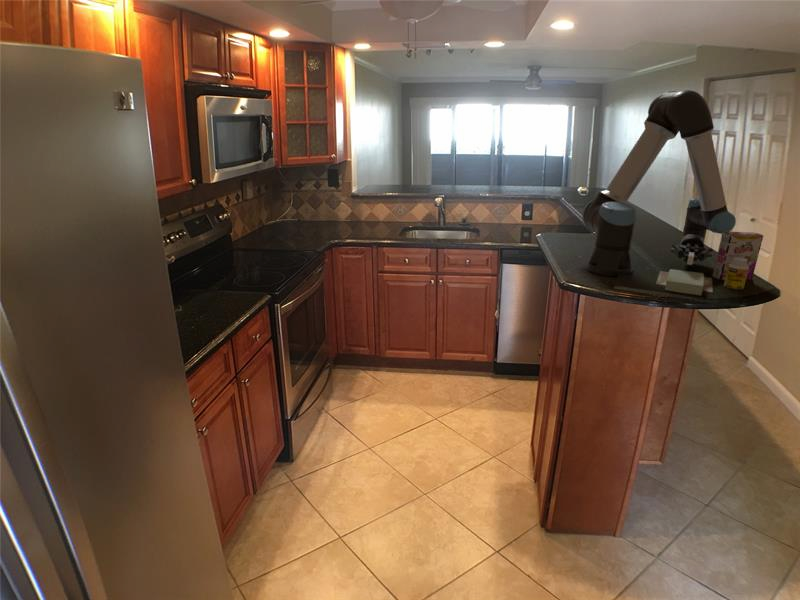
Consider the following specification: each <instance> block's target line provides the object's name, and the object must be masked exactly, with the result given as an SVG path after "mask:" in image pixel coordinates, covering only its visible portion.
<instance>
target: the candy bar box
mask: <svg viewBox="0 0 800 600" xmlns="http://www.w3.org/2000/svg"><path fill="white" fill-rule="evenodd" d="M763 240H764V235H763V234H762V233H758V232H754V231H753V232H752V231H751V232H750V231H730V232H726V231H724V232H723V233H722V234H721V238H720V243H719V246H718V250H717V255H716V259H715V264H714V268H713V271H712V277H713V278H715V279H718V280H723V281H725V278H726V274H727V269H728V265H729V264H730V263H732V260H733V258H744V259H747V260H748V261H747V266H748V267H749V269H748V273H747V278H746V281H753V277H754V273H755V269H756V266H757V262H758V257H759V254H760V250H761V247H762V243H763Z"/></svg>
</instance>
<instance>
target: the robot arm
mask: <svg viewBox="0 0 800 600" xmlns="http://www.w3.org/2000/svg"><path fill="white" fill-rule="evenodd" d="M648 107H649V108H648V110H647V114H648V116H647V117H646V119H645V120H644V122H643V124H644V130H643V132H642V133H641V135H640V136H639V138H638V140H637V141H636V142H635V144H634V145H633V147H632V148H631V150H630V152H629V153H628V155H627V157H626V158H625V159H624V161H623V162H622V164H621V166H620V168H619V169H618V170H617V172H616V173H615V174H614V177H613V178H612V180H611V181H610V183H609V184H608V186H607V188H606V189H604V190H600V191H599V192H598V193H597V195H596V197H595V198H594V199H592V200H591V201H589V202H587V204H585V206H584V208H583V210H582V215H581V218H582V222H583V224H584V225H585V227H586V228H587V230H589V231H590V232H592V233H594V234H596V235H595V241H594V242H595V243H594V247H593V248H594V249H593V250H592V253H591V255H590V257H589V258H588V260H587V262H586V263H587V264H586V270H587V271H588V272H590V273H593V274H595V275H596V274H597V275H599V276H600V275H601V276H607V277H618V276H619V275H627V274H628V275H629V274H631V273H632V272H633V271H634V267H633V262H632V261H633V260H632V256H631V247H632V241H633V235H634V230H635V224H636V223H635V222H636V221H637V220H636V219H637V216H636V215H637V211H636V210H637V209H636V208H635V207H634V206H633V205H631V204H629V203H628V201H629V199H630V198H631V196H632V195H633V193H634V192H635V190H636V189H637V187H638V185H640V182H641V181H642V180H643V178H644V176H645V175H646V174H647V172H648V170H649V169H650V168H651V166H652V165H653V163H654V162H655V160H656V158H657V157H658V156H659V154H660V153H661V151H662V150H663V148H664V147H665V145H666V144H667V142H668V141H670V140H673V139H676V137H677V135H678V134H679V135H680V139H682V140H684V141H685V144H686V149H687V154H688V157H689V158H688V159H689V162H690V166H691V167H690V168H691V170H692V175H693V179H694V184H695V187H696V192H697V196H698V197H695V198H690V199H689V201H688V205H687V208H686V215H685V221H684V225H683V230H682V235H681V239H680V243H679V245H677V244H675V243H674V244H672V245H671V248H670V252H671V253H674V255H675V256H676V257H677V258H678V259H682V258H683V262H687V265H690V266H692V265H693V263H694V262H697V261H700V262H702V261H704V260H706V259H707V258H711V257H712V255H713V250H714V249H712V248H706V247H705V239H706V235H707V231H710V232H712V233H715V234H721V235H722V233H723V232H724V231H726V232H732V230H734V228H735V226H736V223H737V220H736V217H735V215H734V214H733V213H731V212H730V211H729V209H728V206H727V202H726V196H725V192H724V187H723V182H722V178H721V173H720V169H719V163H718V160H717V155H716V154H717V153H716V149H715V143H714V140H713V135H712V132H713V130H714V129H715V126H714V123H713V117H712V114H711V111H710V108H709V106H708V103H707V102H706V99H705V98H704V97H703V96H702V95H701V94H700V93H699V92H697V91H694V90H690V89H687V90H681V91H680V90H679V91H676V90H673V91H672V90H670V91H667V92H664V93H661V94H659V95H658V96H657V97H655V98H654V99H653V100H652V101H651V103H650V104H649V106H648Z"/></svg>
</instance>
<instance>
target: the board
mask: <svg viewBox="0 0 800 600" xmlns="http://www.w3.org/2000/svg"><path fill="white" fill-rule="evenodd" d="M668 274H669V271H663V270H660V271H659V274H658V277H657V280H656V282H655V285H660V286H666V282H667V278H668ZM702 292H709V293H713V292H714V291H713V277H708V276H704V281H703V290H702Z"/></svg>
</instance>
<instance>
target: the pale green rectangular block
mask: <svg viewBox="0 0 800 600" xmlns="http://www.w3.org/2000/svg"><path fill="white" fill-rule="evenodd" d="M668 272H669V274H668V278H667V282H666V285H665V286H664V287H665V288H664V290H665V291H670V292H676V293H680V294H681V293H682V294H688V295H696V296H702V293H703V291H702V290H703V281H704V277H705V275H704V274H705V273H703V272H696V271H695V272H694V271H690V270H689V271H686V270H681V269H671V268H669V271H668Z"/></svg>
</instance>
